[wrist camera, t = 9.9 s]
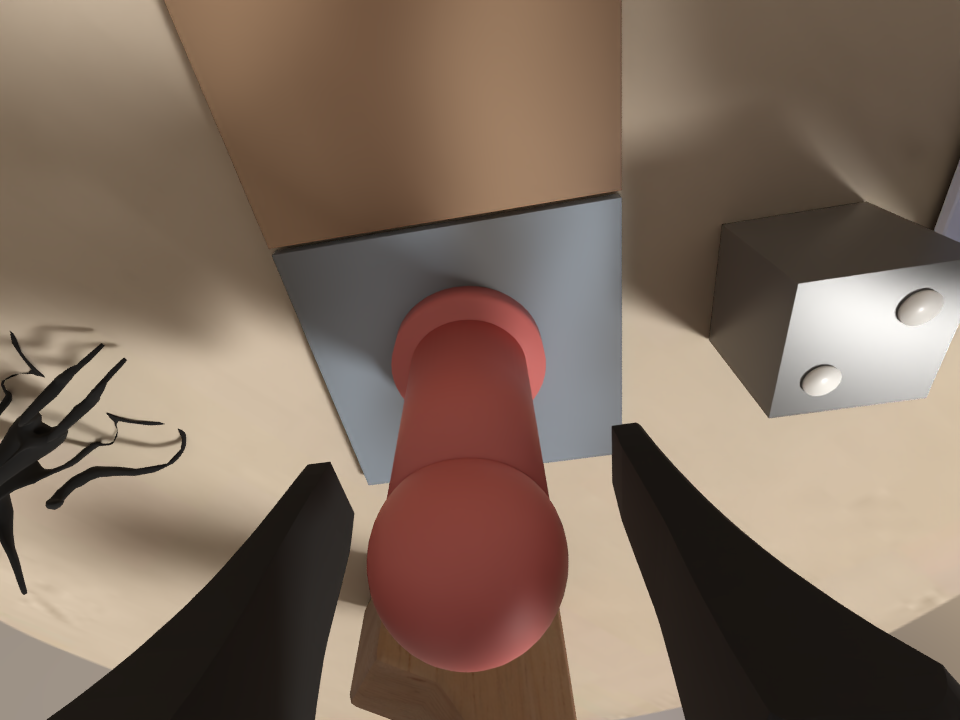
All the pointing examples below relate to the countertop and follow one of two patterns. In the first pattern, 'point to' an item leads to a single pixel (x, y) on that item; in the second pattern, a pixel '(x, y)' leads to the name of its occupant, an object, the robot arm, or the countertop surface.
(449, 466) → the pawn
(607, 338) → the board
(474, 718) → the wooden block
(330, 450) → the countertop surface
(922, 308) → the die
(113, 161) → the countertop surface
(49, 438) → the creature
